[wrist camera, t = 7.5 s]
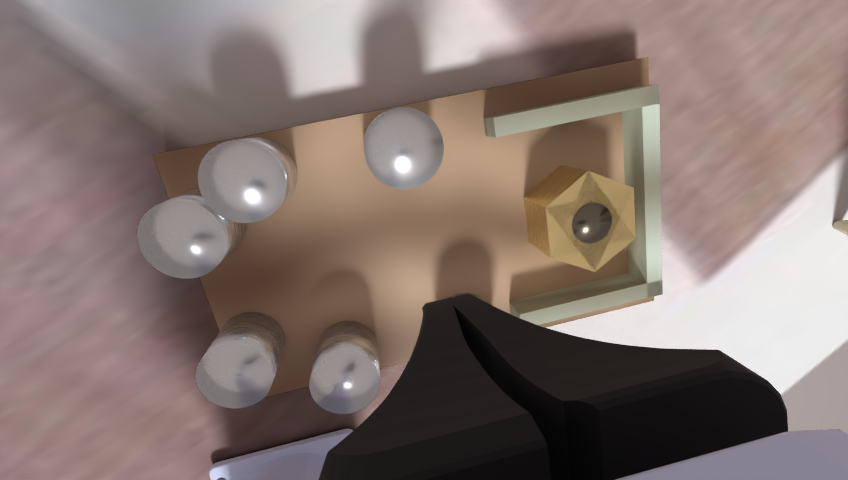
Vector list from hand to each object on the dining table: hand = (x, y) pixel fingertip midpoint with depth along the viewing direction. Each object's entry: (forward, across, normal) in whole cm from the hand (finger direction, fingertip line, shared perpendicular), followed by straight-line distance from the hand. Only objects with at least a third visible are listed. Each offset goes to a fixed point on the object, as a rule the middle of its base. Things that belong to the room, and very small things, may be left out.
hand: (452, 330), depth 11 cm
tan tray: (+10, -1, 0) cm, 10 cm away
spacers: (+9, +3, 0) cm, 9 cm away
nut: (+9, -8, 0) cm, 11 cm away
